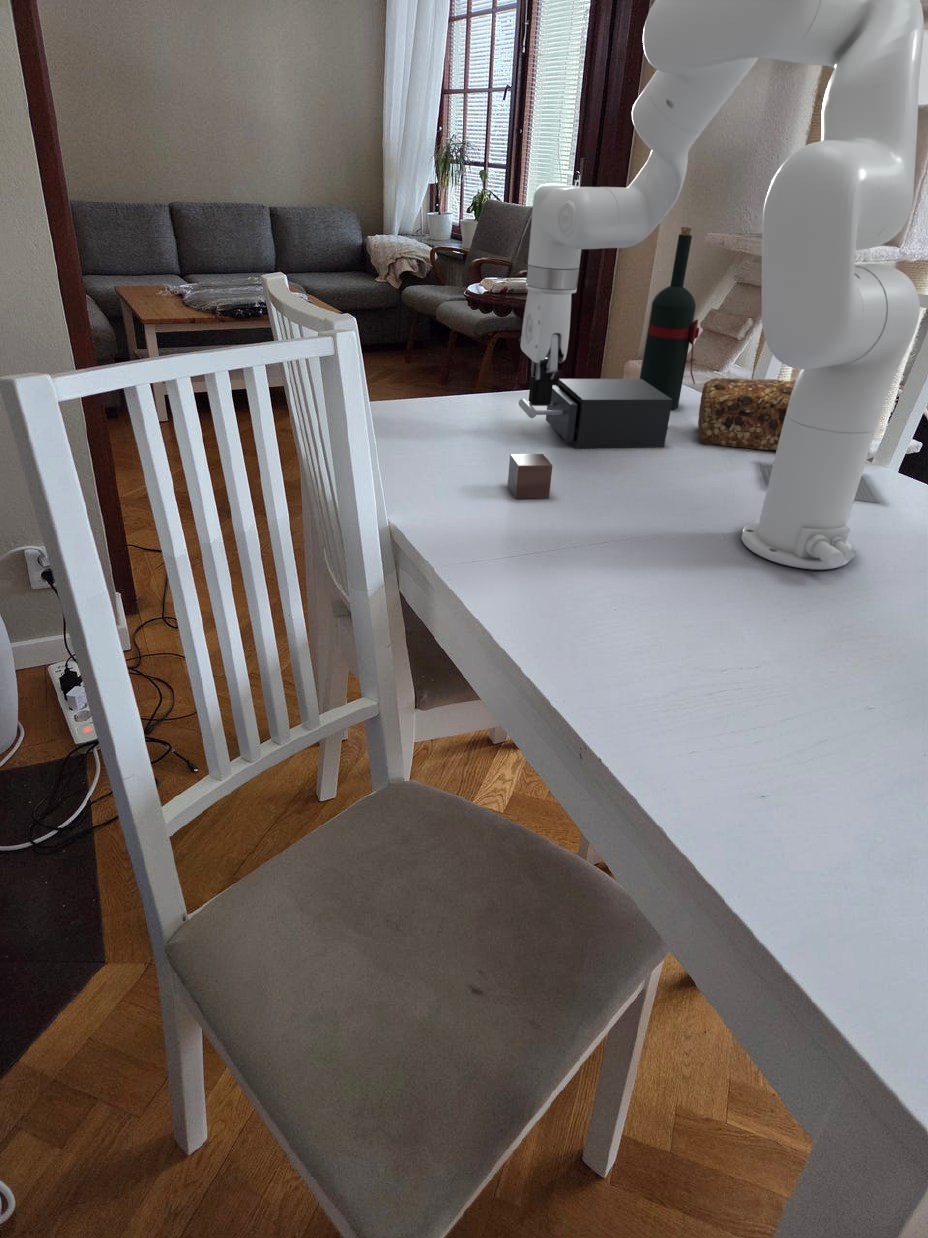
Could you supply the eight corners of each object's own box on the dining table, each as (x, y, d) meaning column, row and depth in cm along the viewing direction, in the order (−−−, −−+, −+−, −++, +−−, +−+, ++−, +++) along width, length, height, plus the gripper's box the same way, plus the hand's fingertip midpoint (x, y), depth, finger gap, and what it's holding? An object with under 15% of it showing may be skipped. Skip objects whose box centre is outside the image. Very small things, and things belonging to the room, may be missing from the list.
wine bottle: (688, 414, 148) (723, 231, 133) (632, 407, 151) (660, 226, 136) (692, 404, 155) (726, 228, 140) (638, 397, 157) (665, 223, 142)
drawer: (530, 442, 127) (534, 404, 124) (512, 420, 136) (515, 384, 134) (647, 440, 131) (653, 404, 128) (621, 419, 140) (626, 385, 137)
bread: (807, 438, 139) (823, 378, 134) (816, 458, 130) (833, 395, 125) (694, 425, 142) (706, 367, 137) (695, 444, 133) (708, 382, 128)
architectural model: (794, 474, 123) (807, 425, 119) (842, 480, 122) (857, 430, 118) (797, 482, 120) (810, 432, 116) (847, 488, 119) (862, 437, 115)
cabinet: (576, 448, 128) (582, 399, 124) (553, 424, 139) (558, 378, 135) (664, 447, 131) (672, 399, 127) (634, 423, 142) (642, 378, 138)
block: (549, 498, 109) (552, 465, 107) (515, 499, 108) (518, 465, 106) (539, 485, 113) (543, 453, 111) (507, 486, 112) (509, 453, 110)
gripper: (514, 270, 126) (505, 390, 136) (541, 286, 114) (528, 417, 123) (561, 272, 128) (548, 390, 137) (592, 288, 115) (576, 417, 125)
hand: (539, 403), depth 130 cm, fingers closed
